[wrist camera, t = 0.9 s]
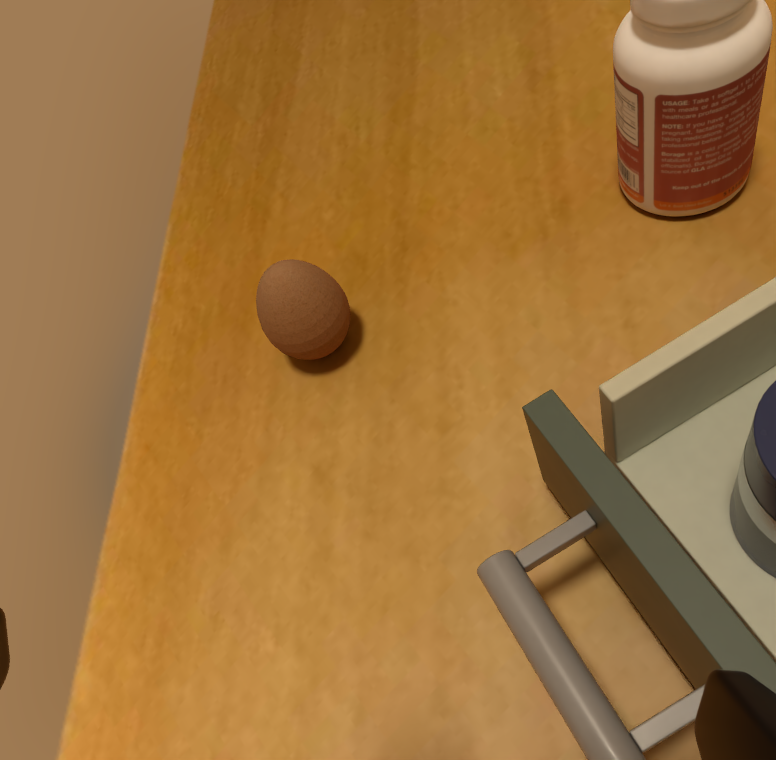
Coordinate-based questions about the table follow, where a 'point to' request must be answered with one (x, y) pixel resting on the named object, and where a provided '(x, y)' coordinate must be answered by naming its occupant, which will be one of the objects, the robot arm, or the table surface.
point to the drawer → (655, 522)
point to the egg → (302, 309)
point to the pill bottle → (688, 100)
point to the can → (758, 488)
